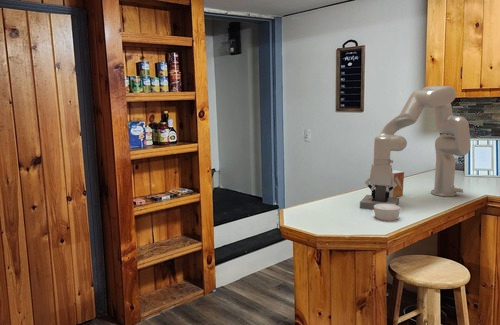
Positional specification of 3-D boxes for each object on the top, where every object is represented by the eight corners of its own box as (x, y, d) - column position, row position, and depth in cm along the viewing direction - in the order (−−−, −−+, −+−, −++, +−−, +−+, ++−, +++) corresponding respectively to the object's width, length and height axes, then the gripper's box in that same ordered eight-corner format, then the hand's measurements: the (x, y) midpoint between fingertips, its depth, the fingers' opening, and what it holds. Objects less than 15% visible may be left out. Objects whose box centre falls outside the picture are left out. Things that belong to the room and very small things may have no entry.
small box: (393, 197, 228) (394, 173, 226) (383, 195, 233) (384, 171, 231) (403, 195, 232) (404, 171, 230) (393, 193, 238) (394, 169, 235)
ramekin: (368, 218, 193) (369, 206, 193) (381, 213, 201) (381, 201, 200) (392, 223, 186) (392, 211, 185) (404, 217, 193) (404, 206, 192)
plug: (385, 200, 215) (386, 183, 213) (385, 203, 210) (386, 185, 208) (374, 200, 216) (375, 183, 215) (374, 202, 211) (375, 185, 210)
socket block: (399, 203, 216) (399, 197, 216) (394, 211, 202) (395, 204, 202) (366, 200, 223) (366, 194, 223) (359, 208, 209) (360, 201, 209)
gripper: (401, 162, 209) (399, 198, 212) (365, 159, 216) (363, 195, 219) (399, 164, 202) (397, 202, 205) (361, 162, 209) (360, 198, 212)
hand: (380, 198), depth 212 cm, fingers closed on plug, 5 cm apart
